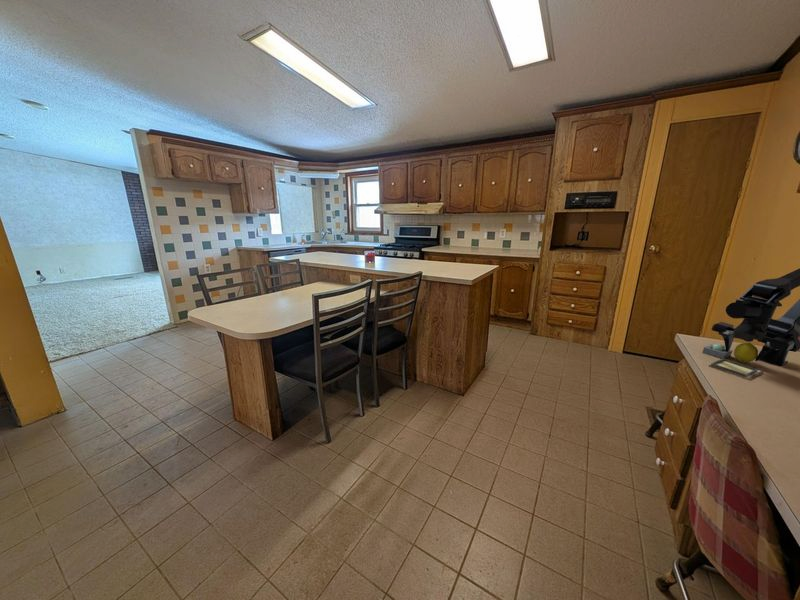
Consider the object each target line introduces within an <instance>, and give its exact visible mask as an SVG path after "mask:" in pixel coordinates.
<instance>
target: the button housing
mask: <svg viewBox="0 0 800 600" xmlns="http://www.w3.org/2000/svg"><path fill="white" fill-rule="evenodd" d="M713 345H714V344H709V345H707V346H704V347H703V350H702V354H705V355H708V356H711V357H715V358H718V359H728V358H730V357H731V356H732V353H733V349H730V350H729V351H728V352H726V349H725V348H724V351H723V352H721V351H718V350H715V349H712V348H713Z"/></svg>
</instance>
